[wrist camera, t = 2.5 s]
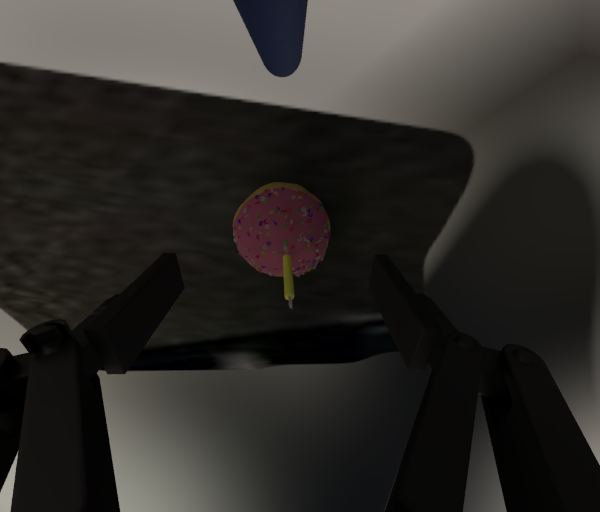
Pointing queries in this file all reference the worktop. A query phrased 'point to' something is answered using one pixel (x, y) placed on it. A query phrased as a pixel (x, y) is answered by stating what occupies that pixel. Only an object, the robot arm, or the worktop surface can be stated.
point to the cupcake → (282, 231)
